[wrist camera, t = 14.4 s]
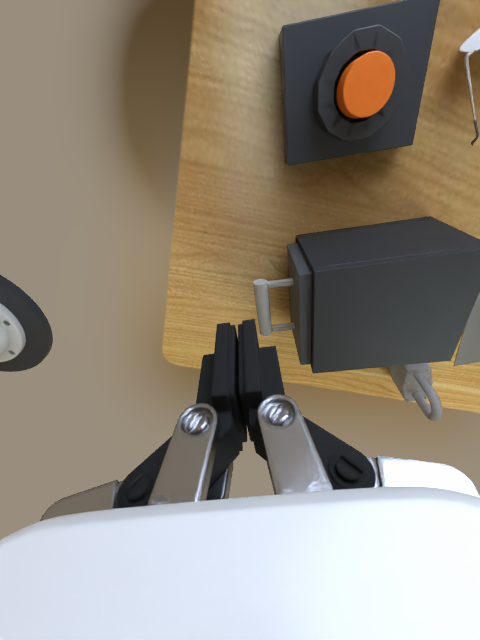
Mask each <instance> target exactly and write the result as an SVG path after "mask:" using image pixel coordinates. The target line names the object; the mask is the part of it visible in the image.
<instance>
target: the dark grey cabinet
mask: <svg viewBox="0 0 480 640" xmlns="http://www.w3.org/2000/svg"><path fill="white" fill-rule="evenodd" d="M296 237H297V243H298V245H299V247H300V249H301V251H302V253H303V256H304V258H305V260H306V262H307V264H308V266H309V268H310V270H311V272H312V275H313V287H312V335H311V364H310V365H311V368H312V372H313V373H322V372H333V371H344V370H354V369H365V368H376V367H387V366H397V365H408V364H419V363H430V362H440V361H450V360H451V358H452V356H453V354H454V351H455V349H456V347H457V344H458V342H459V340H460V337H461V335H462V333H463V330H464V328H465V326H466V323H467V321H468V318H469V316H470V314H471V311H472V309H473V307H474V304H475V302H476V300H477V297H478V295H479V293H480V240H479V239H477V238H475V237H473V236H471V235H469V234H467V233H465V232H463V231H460V230H458V229H456V228H454V227H452V226H450V225H448V224H446V223H443V222H441V221H439V220H437V219H435V218H433V217H423V218H416V219H409V220H402V221H395V222H388V223H381V224H374V225H367V226H359V227H352V228H345V229H338V230H331V231H324V232H317V233H310V234H303V235H297V236H296Z"/></svg>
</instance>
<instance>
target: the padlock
mask: <svg viewBox="0 0 480 640" xmlns="http://www.w3.org/2000/svg"><path fill="white" fill-rule="evenodd" d="M389 370H390V373H391V377H392V379H393V381H394V383H395V385H396V386H397V388H398V390H399V391H400V393H401V394H402V396H403V398H404V400H405V401H406V402H409V401H415V400H416V402H417V403H418V405H419V407H420V408H421V410H422V411H423V413H424V414H425V416H426V417H427V418H428V419H429V420H431V421H435V422H436V421H438V420H440V418H441V416H442V405H441V401H440V399H439V397H438V395H437V393H436V392H435V390H434V389H433V387H432V386H431V385H432V383H433V382H432V375H431V368H430V366H429V364H428V363H419V364H408V365H397V366H389ZM427 397H428V399H429V401H430V405H431V408H430V407H429V405H428V403H427V402H426V400H425V399H426V398H427Z"/></svg>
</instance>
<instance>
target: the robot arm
mask: <svg viewBox="0 0 480 640" xmlns="http://www.w3.org/2000/svg"><path fill="white" fill-rule="evenodd" d="M25 342H26V338H25V333H24V330H23V328H22V326H21V324H20V323H19V321H18V320H17V318H16V317H15V316H14V315H13V314H12V313H11V312H10V311H9V310H8V309H7V308H6V307H5V306H4V305H2V304H1V303H0V362H5V361H8V360H11V359H13V358H14V357H16V356H17V355H18V354H19V353H20V352H21V351H22V350H23V348H24V346H25ZM247 427H248V431H249V436H250V440H251V441H253V442H254V446H255V450H256V453H257V454H259V455H260V456H261V457H262V458H263V459H264V460H266V461H267V465H268V469H269V473H270V478H271V481H272V485H273V490H274V494H275V495H268V496H267V495H266V496H254V497H243V498H231V499H228V498H229V491H230V484H231V478H232V471H233V461H234V459H235V458H236V457H237V456H238V455H239V451H242V448H243V447H242V442H247ZM0 640H480V497H479V495H478V492H477V490H476V488H475V487H474V485H473V483H472V482H471V480H470V479H468V478H467V477H466V476H465V475H464V474H463V473H462V472H460V471H459V470H457V469H455V468H454V467H451V466H448V465H444V464H438V463H431V462H423V461H416V460H408V459H400V458H392V457H385V456H378V455H377V458H371V457H365V456H364V455H363V454H362V453H361V452H359V451H358V450H356V449H354V448H353V447H351V446H349V445H348V444H346V443H345V442H343V441H342V440H340V439H338V438H337V437H335V436H334V435H332V434H330V433H329V432H327V431H325V430H324V429H323V428H321V427H319V426H318V425H316V424H314V423H313V422H311V421H310V420H308V419H306V418H305V417H303V416H302V413H301V411H300V409H299V406H298V405H297V403H296V402H295V401H294V400H293V399H292V398H290V397H288V396H286V395H285V394H284V388H283V383H282V377H281V372H280V367H279V361H278V356H277V351H276V346H271V347H263V348H259V344H258V338H257V331H256V325H255V319H251V320H244V321H242V324H239V325H238V338H237V333H236V328H235V325H230V323H222V324H217V331H216V342H215V352H214V354H209V355H204V356H203V360H202V366H201V373H200V380H199V388H198V394H197V401H196V404H194V405H192V406H190V407H188V408H187V409H185V410H184V412H182V414H181V415H180V417H179V419H178V421H177V424H176V426H175V429H174V432H173V435H172V437H170V438H169V439H168V440H167V441H166V442H165V443H164V444H163V445H162V446H160V447H159V448H158V449H157V450H156V451H155V452H154V453H152V454H151V455H150V456H149V457H148V458H147V459H146V460H145V461H144V462H142V463H141V464H140V465H139V466H138V467H137V468H136V469H134V470H133V471H132V472H131V473H130V474H129V475H128V476H127V477H126V478H125V479H124V481H121V482H118V480H115V481H112V482H109V483H106V484H103V485H100V486H97V487H94V488H92V489H88V490H85V491H83V492H79V493H76V494H74V495H71V496H68V497H65V498H62V499H60V500H59V501H57V502H55V503H54V504H53V505H52V506H50V507H49V508H48V509H47V511H46V512H45V513H44V515H43V516H42V518H41V520H40V522H37V523H34V524H32V525H30V526H28V527H25V528H23V529H21V530H18V531H16V532H14V533H13V534H11V535H9V536H7V537H5V538H3V539H2V540H0Z"/></svg>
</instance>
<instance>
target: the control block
mask: <svg viewBox="0 0 480 640" xmlns="http://www.w3.org/2000/svg"><path fill="white" fill-rule="evenodd" d="M439 2H440V0H402V1H397V2H392V3H388V4H383V5H378V6H374V7H369V8H364V9H359V10H355V11H350V12H345V13H341V14H336V15H331V16H327V17H322V18H317V19H312V20H308V21H303V22H298V23H294V24H289V25H284V26H283V27H282V29H281V32H280V35H279V38H280V61H281V84H282V107H283V131H284V154H285V163H286V164H287V165H294V164H300V163H306V162H312V161H318V160H324V159H330V158H336V157H342V156H348V155H354V154H360V153H367V152H373V151H379V150H385V149H391V148H397V147H403V146H409V145H412V144H413V139H414V134H415V129H416V123H417V118H418V113H419V108H420V102H421V97H422V92H423V86H424V81H425V76H426V71H427V65H428V60H429V55H430V50H431V44H432V39H433V34H434V29H435V23H436V18H437V13H438V7H439ZM371 51H380V52H383V53H385V54H387V55H388V56H389V57H390V59H391V60H392V62H393V64H394V68H395V83H394V87H393V91H392V93H391V95H390V97H389V99H388V101H387V102H386V104H385V105H384V106H383V107H382V108H381V109H380V110H379V111H378V112H376V113H375V114H373V115H371V116H369V117H364V118H349V117H347V116H346V115H344V114H343V113H342V112H341V110H340V109H339V106H338V103H337V97H336V93H337V86H338V82H339V80H340V77H341V75H342V73H343V72H344V70H345V69H346V68H347V66H348V65H349V64H350V63H351V62H353V61H354V60H356V59H357V58H359V57H361V56H362V55H364V54H366V53H368V52H371Z"/></svg>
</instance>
